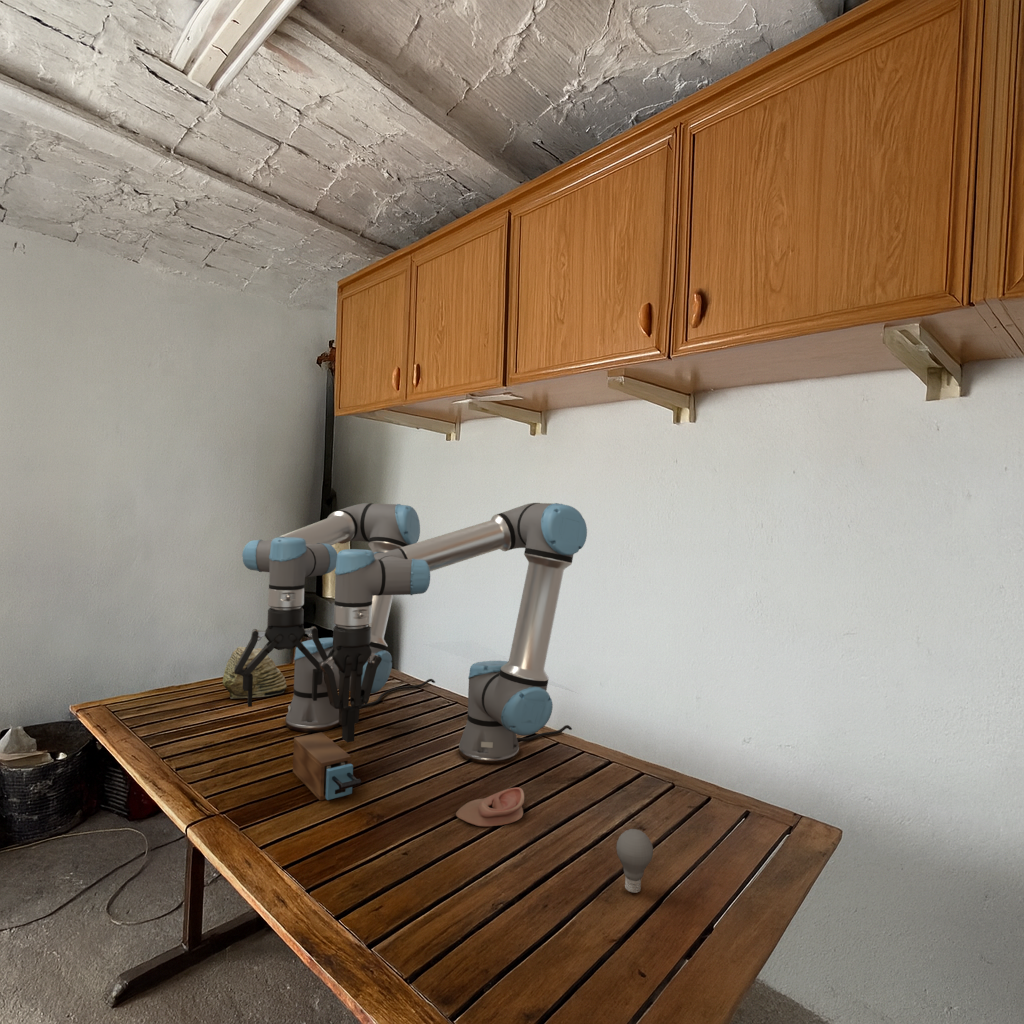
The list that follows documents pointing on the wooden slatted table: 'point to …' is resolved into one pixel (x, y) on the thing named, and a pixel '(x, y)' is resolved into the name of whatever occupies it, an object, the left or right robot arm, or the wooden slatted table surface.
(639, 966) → the wooden slatted table surface
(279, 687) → the fossil
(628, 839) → the light bulb
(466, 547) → the right robot arm
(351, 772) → the drawer
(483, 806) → the anatomical model
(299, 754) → the cabinet
